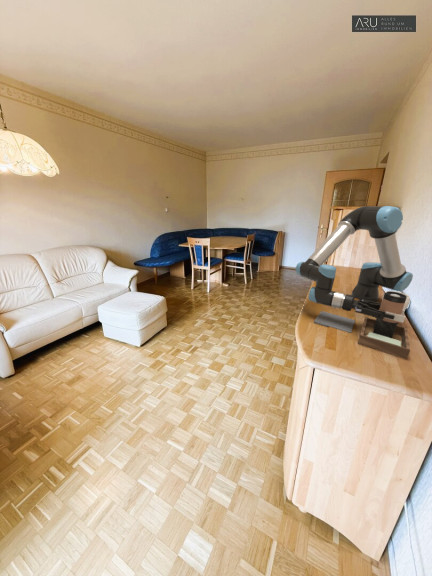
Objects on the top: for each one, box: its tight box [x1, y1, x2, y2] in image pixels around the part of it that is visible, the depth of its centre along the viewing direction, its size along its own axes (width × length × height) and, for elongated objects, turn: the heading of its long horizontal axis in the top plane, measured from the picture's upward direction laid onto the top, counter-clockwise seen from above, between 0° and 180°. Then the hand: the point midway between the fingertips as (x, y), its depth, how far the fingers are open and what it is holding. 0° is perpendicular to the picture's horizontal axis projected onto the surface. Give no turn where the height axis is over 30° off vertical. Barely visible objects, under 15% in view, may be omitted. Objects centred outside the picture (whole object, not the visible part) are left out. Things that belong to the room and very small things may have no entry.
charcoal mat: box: [313, 310, 356, 334], centre depth 112 cm, size 16×16×1 cm
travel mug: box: [372, 290, 407, 339], centre depth 98 cm, size 8×8×20 cm
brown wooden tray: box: [357, 316, 411, 360], centre depth 97 cm, size 22×16×4 cm
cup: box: [381, 290, 411, 311], centre depth 113 cm, size 11×11×15 cm
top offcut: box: [367, 331, 402, 347], centre depth 92 cm, size 8×11×1 cm
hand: (403, 316), depth 95 cm, fingers closed on travel mug, 7 cm apart
